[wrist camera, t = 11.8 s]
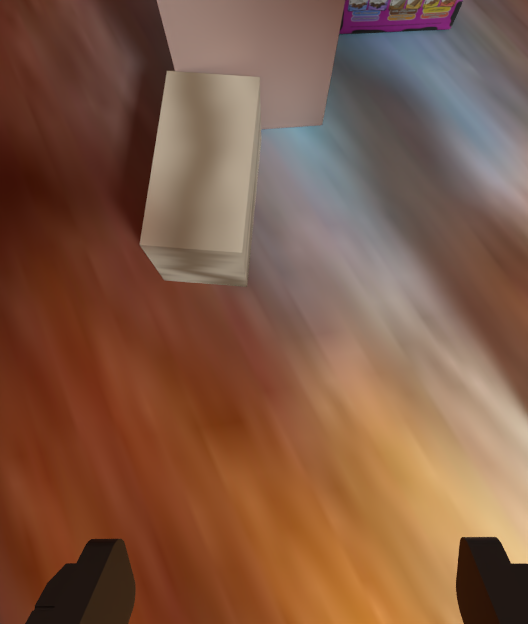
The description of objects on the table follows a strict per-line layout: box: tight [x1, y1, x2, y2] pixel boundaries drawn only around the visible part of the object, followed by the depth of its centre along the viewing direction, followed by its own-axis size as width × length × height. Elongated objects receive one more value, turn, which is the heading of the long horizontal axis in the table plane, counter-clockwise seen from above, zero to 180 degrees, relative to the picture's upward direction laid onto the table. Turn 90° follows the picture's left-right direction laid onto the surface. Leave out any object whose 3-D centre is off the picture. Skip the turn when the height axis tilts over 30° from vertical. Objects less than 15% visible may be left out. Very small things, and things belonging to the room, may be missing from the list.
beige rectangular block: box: [140, 71, 261, 287], centre depth 37 cm, size 7×14×8 cm, turn 175°
